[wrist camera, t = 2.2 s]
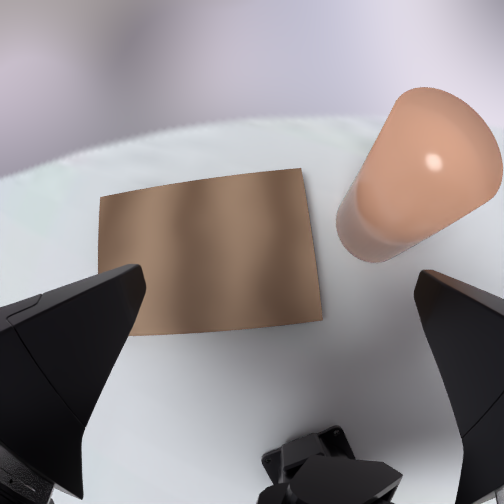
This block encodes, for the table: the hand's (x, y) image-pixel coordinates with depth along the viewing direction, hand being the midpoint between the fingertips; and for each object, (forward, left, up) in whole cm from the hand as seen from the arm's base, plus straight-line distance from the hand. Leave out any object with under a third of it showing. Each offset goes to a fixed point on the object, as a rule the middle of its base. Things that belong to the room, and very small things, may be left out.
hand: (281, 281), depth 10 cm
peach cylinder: (+2, -9, -14) cm, 17 cm away
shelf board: (+5, +4, -14) cm, 15 cm away
